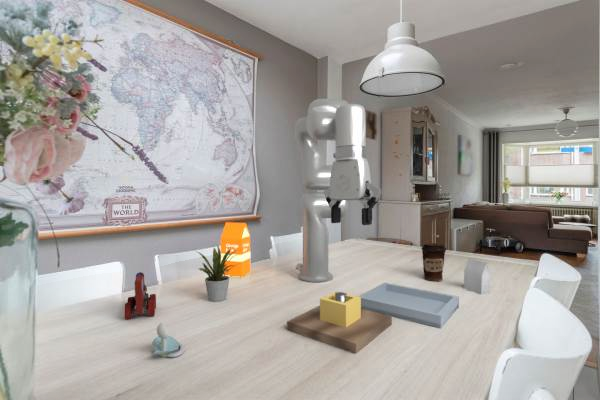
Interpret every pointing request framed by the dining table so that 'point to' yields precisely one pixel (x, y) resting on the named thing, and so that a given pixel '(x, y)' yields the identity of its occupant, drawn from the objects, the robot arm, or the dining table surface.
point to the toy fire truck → (140, 299)
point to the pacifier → (166, 344)
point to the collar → (340, 310)
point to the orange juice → (236, 248)
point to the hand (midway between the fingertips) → (350, 223)
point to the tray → (410, 304)
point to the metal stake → (340, 297)
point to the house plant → (217, 275)
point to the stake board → (341, 329)
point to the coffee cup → (433, 261)
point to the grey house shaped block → (477, 276)
